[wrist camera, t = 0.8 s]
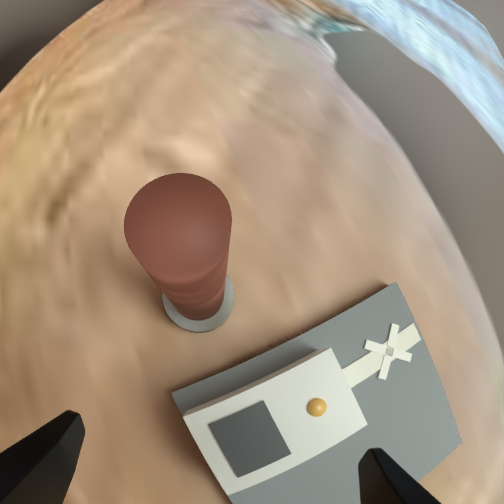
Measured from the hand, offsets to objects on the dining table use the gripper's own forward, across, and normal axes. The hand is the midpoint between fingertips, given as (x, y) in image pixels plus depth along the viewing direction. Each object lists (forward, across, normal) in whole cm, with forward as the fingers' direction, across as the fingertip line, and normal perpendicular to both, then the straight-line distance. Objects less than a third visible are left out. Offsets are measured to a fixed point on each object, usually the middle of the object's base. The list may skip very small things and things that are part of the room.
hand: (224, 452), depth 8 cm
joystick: (+15, +2, +3) cm, 15 cm away
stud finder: (+9, -4, +8) cm, 13 cm away
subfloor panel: (+9, -9, +10) cm, 16 cm away
